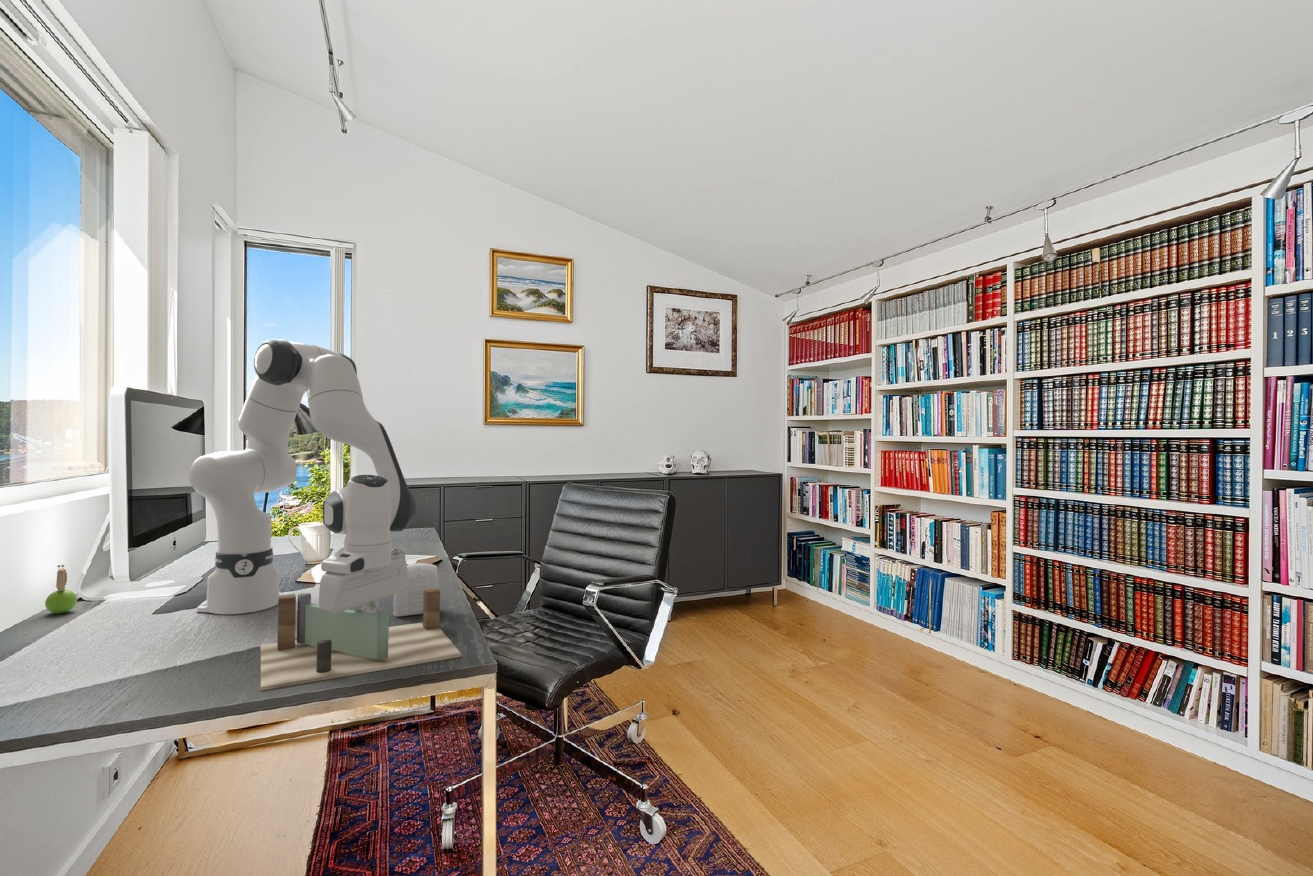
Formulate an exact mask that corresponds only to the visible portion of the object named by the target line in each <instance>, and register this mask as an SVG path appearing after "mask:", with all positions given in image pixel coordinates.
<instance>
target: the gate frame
mask: <svg viewBox="0 0 1313 876" xmlns="http://www.w3.org/2000/svg"><path fill="white" fill-rule="evenodd" d="M296 601H297V596H296V593H291V594H283V595H280V596H278V605H277V637H276V638H277V640H276V641H277V642H271V643H270V642H269V643H262V644H260V691H266V690H272V689H280V688H284V687H285V688H286V687H290V686H296V685H301V684H308V683H313V682H320V681H325V680H331V679H337V678H343V677H349V676H355V675H362V674H368V673H371V672H372V673H373V672H378V671H385V670H391V669H396V668H403V667H408V666H414V665H419V664H420V665H421V664H427V663H431V662H438V661H444V660H449V659H454V658H455V659H456V658H460V657H462V653H461V651H459V649H458V648H457V647H456V646H455V644H453V642H452V641H451V639H450V638H449V637H448V636H447V635H446V634H445V633H444V631H443V630H442V629H441V628H440V616H441V615H440V613H441V612H440V610H441V609H440V608H441V590H440V589H439V587H438V588H432V589H424V591H423V614H422V622H416V623H409V624H402V625H395V626H389V638H388V658H387V659H383V660H378V659H376V658H371V657H366V656H361V655H356V654H352V653H347V652H342V651H337V650H332V649H331V643H332V641H331V640H320V641H318V642H317V646H313V645H308V644H305V643H304V644H298V643H297V639H296V618H297V617H296V615H297V614H296V611H297V610H296V608H297V602H296Z"/></svg>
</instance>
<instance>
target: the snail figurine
mask: <svg viewBox="0 0 1313 876" xmlns="http://www.w3.org/2000/svg"><path fill="white" fill-rule="evenodd" d="M61 567H62V568H61ZM64 567H65V564H62V565H61V564H57V568H59V569H58V570H57V572H56V573H57V576H56V582H55V583H56V585H55V588H56V590H55V591H53V592H52V593H50V594H49V595H47V597H46V599H45V601H44V606H45V608H46V609H47V610H48V611H49V612H50V613H53V614H64V613H67V612H69V611H71V610H72V609H74V607H75V606H76V605H77V602H78V597H77V594H76V593H75V592H73V591H72V590H70V589H66V585H67V582H68V572H67V570H66V569H65V568H64Z"/></svg>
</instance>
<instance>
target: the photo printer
mask: <svg viewBox="0 0 1313 876" xmlns="http://www.w3.org/2000/svg"><path fill="white" fill-rule="evenodd" d="M407 570H408V586H407V588H406V590H405V591H402V592H399V593H396V594H393V616H394V617H397V618H398V617H405V616H413V615H414V616H415V615H423V591H424V589H432V588H438V589H439V571H438V567H437V565H435V564H432V563H424V562H421V563H418V562H417V563H409V564H407Z"/></svg>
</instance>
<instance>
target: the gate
mask: <svg viewBox="0 0 1313 876" xmlns="http://www.w3.org/2000/svg"><path fill="white" fill-rule="evenodd" d="M296 611H297V614H296V615H297V617H296V620H297V621H296V640H297V643H298V644H304V643H305V644H308V645H313V646H317V642H318V641H320V640H331V641H332V643H331V649H332V650H337V651H342V652H347V653H352V654H356V655H361V656H366V657H371V658H376V659H378V660H383V659H387V658H388V638H389V627H390V626H389V625H390V613H389V612H379V613H375V614H372V613H366V612H360V611H355V610H354V609H348V610H346V611H343V612H340V613H337V614H331V613H325V612H323V611H322V610H321V609H320V607H319V603H312V593H309V592H306V593H305V592H303V593H300V594H297V610H296Z"/></svg>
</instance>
